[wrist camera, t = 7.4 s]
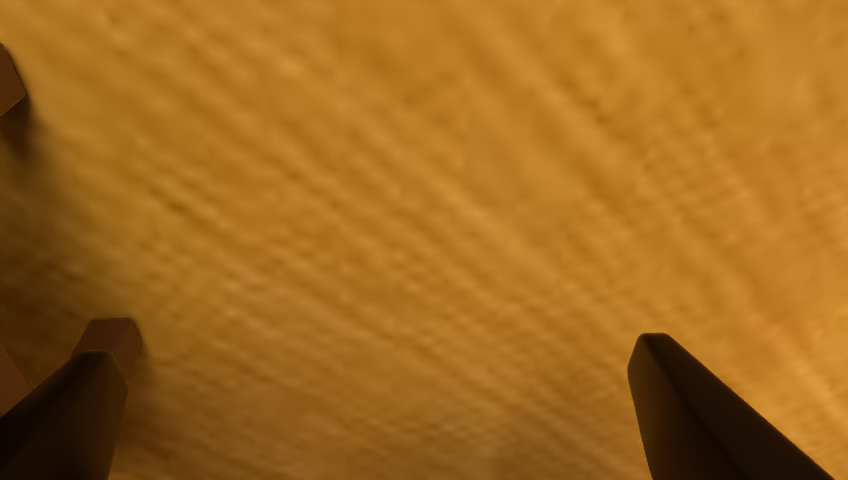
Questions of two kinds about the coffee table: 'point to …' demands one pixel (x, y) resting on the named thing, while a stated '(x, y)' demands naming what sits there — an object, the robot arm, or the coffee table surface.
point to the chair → (4, 380)
